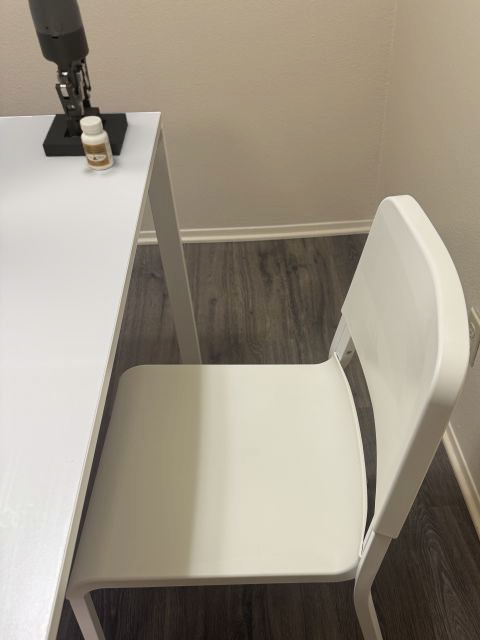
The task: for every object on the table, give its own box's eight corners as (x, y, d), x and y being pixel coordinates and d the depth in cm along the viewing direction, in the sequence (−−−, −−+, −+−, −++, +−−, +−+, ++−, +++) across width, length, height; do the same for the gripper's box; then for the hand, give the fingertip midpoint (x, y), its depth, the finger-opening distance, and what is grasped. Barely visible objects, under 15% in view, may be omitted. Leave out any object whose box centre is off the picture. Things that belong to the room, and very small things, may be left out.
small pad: (70, 136, 109) (65, 120, 107) (75, 123, 113) (70, 107, 110) (98, 136, 110) (94, 119, 107) (102, 123, 113) (98, 107, 111)
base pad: (45, 156, 108) (42, 144, 107) (59, 125, 116) (55, 113, 114) (119, 155, 109) (116, 143, 107) (128, 124, 117) (125, 112, 115)
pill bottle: (86, 170, 105) (74, 126, 99) (91, 158, 108) (79, 114, 102) (111, 170, 105) (101, 126, 100) (116, 158, 108) (106, 114, 102)
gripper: (44, 8, 102) (72, 110, 115) (24, 40, 93) (57, 147, 106) (89, 8, 103) (112, 110, 116) (73, 40, 94) (100, 147, 106)
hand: (85, 127), depth 111 cm, fingers closed on small pad, 5 cm apart
